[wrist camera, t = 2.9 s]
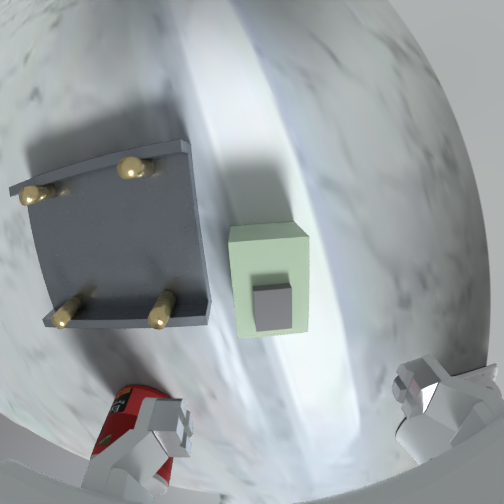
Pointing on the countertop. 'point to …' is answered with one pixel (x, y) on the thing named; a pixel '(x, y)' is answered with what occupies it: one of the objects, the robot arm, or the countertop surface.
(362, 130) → the countertop surface
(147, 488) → the canned food
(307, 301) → the pale green block
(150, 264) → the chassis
